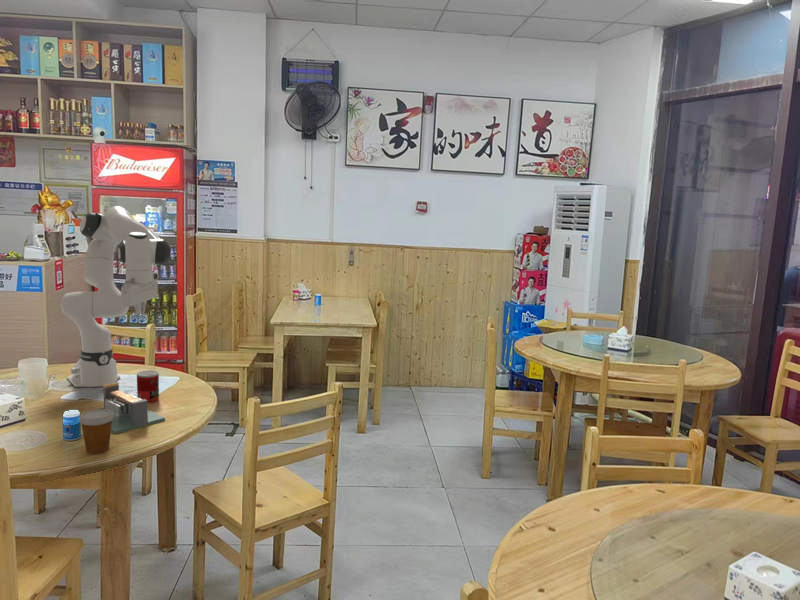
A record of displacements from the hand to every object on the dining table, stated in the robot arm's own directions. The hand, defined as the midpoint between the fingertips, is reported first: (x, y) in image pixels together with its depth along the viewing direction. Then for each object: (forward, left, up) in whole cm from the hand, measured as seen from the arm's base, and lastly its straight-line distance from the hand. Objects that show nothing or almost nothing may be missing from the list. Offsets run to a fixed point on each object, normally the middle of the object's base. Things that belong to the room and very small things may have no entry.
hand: (140, 313), depth 220 cm
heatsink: (+8, -11, -36) cm, 38 cm away
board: (+7, -11, -36) cm, 38 cm away
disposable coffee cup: (+28, -30, -36) cm, 55 cm away
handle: (+9, -11, -29) cm, 32 cm away
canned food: (-5, +5, -36) cm, 37 cm away
